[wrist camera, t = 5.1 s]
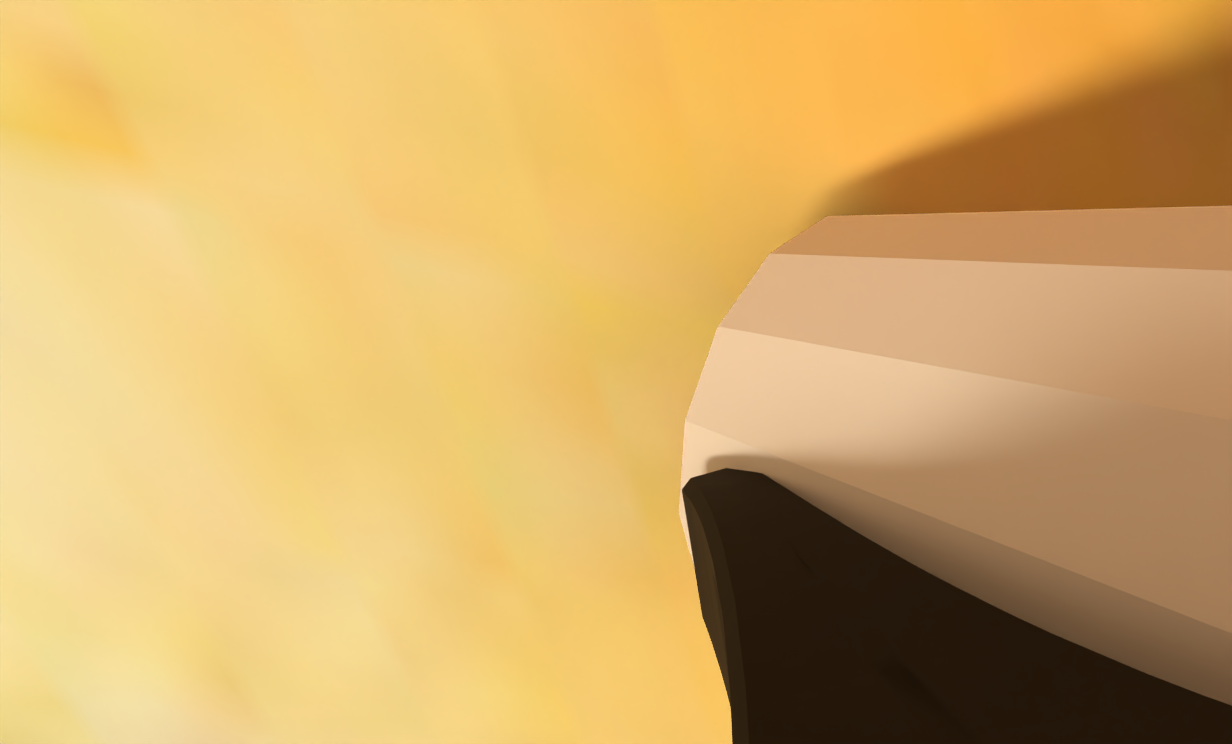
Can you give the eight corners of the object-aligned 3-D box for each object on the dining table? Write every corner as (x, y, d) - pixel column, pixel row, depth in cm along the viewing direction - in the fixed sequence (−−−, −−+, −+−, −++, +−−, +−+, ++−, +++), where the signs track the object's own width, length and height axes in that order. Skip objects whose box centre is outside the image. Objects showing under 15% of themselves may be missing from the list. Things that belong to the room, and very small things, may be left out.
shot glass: (753, 763, 11) (1457, 1279, 6) (535, 413, 8) (1871, 991, 2) (988, 433, 14) (1615, 603, 9) (914, 54, 10) (1929, -31, 5)
